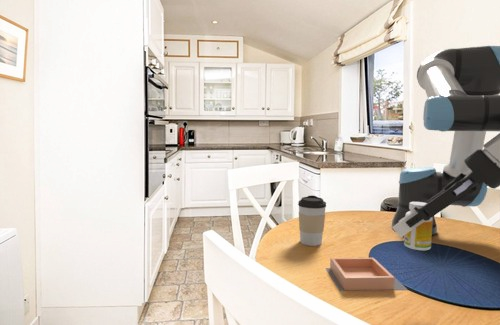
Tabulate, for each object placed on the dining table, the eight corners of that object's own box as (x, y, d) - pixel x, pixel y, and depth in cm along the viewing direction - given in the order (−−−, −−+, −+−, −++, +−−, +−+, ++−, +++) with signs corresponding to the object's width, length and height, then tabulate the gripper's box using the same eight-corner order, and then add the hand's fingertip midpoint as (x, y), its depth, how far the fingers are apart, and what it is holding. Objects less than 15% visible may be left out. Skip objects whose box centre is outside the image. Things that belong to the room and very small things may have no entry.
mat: (384, 269, 87) (384, 267, 87) (407, 291, 75) (407, 289, 75) (325, 269, 86) (325, 268, 86) (339, 292, 75) (339, 290, 75)
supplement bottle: (434, 246, 72) (437, 203, 71) (425, 253, 68) (428, 207, 67) (409, 240, 76) (412, 199, 75) (399, 246, 72) (401, 203, 71)
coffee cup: (325, 248, 102) (326, 201, 101) (296, 245, 104) (297, 199, 102) (324, 238, 111) (326, 195, 109) (297, 236, 113) (299, 194, 111)
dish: (372, 268, 87) (373, 257, 87) (394, 289, 75) (394, 277, 75) (330, 268, 86) (330, 257, 86) (344, 290, 75) (345, 278, 74)
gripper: (514, 183, 54) (402, 255, 65) (511, 172, 68) (419, 232, 80) (478, 149, 56) (376, 224, 68) (482, 145, 71) (397, 208, 83)
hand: (400, 228), depth 74 cm, fingers closed on supplement bottle, 5 cm apart
